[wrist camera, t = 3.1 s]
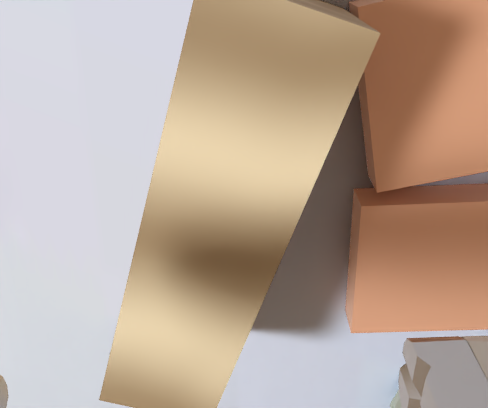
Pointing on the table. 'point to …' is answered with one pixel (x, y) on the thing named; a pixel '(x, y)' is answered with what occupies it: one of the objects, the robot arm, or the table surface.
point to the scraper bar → (229, 189)
